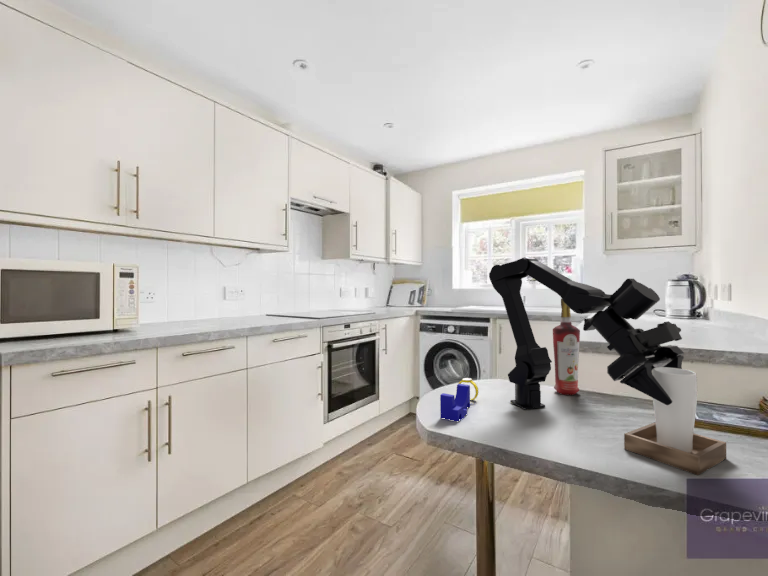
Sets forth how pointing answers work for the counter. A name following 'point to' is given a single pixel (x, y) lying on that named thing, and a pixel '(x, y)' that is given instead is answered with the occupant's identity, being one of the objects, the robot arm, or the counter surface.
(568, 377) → the liquor
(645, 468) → the counter surface
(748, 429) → the counter surface
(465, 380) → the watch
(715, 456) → the walnut box
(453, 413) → the blue u-shaped holder
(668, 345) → the robot arm
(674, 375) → the drinking glass
